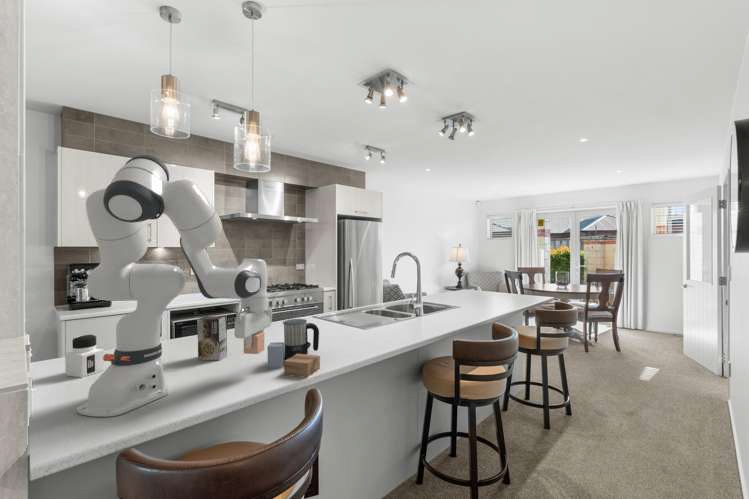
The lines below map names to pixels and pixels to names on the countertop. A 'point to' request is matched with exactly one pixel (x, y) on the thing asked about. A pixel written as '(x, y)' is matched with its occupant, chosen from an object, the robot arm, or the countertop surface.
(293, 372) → the walnut block
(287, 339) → the milk frother
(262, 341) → the terracotta block
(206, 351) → the coffee box
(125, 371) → the robot arm
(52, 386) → the countertop surface
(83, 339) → the container
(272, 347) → the slate block
